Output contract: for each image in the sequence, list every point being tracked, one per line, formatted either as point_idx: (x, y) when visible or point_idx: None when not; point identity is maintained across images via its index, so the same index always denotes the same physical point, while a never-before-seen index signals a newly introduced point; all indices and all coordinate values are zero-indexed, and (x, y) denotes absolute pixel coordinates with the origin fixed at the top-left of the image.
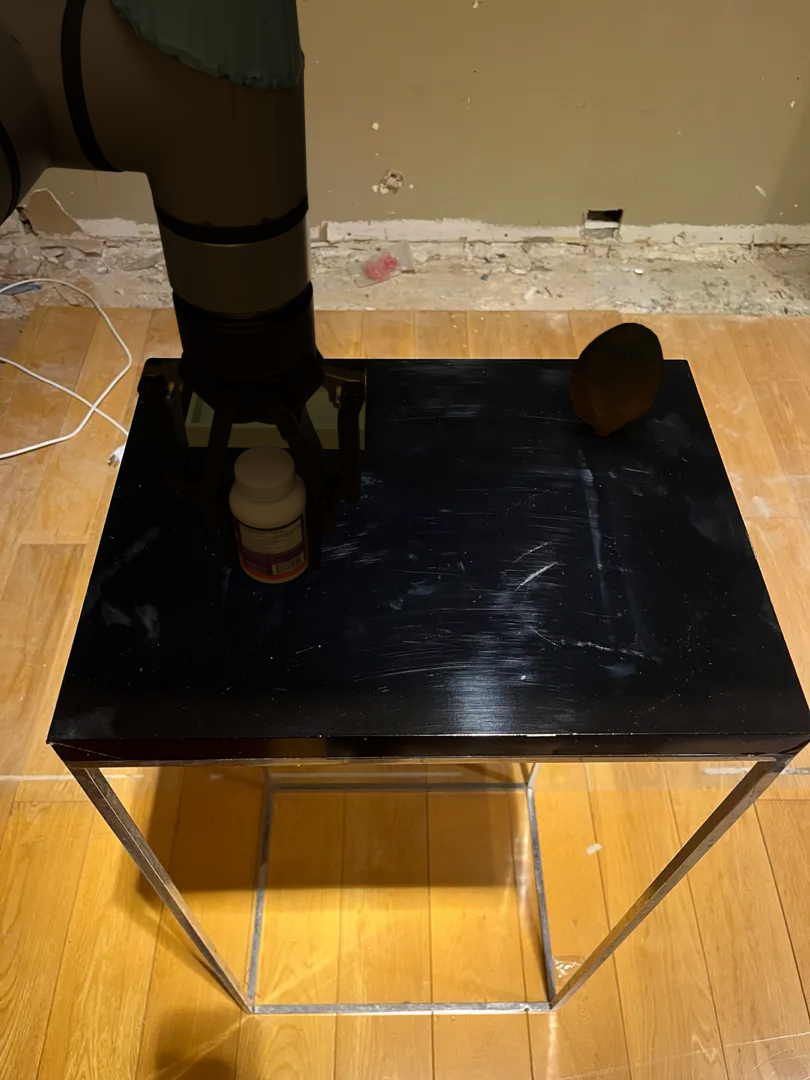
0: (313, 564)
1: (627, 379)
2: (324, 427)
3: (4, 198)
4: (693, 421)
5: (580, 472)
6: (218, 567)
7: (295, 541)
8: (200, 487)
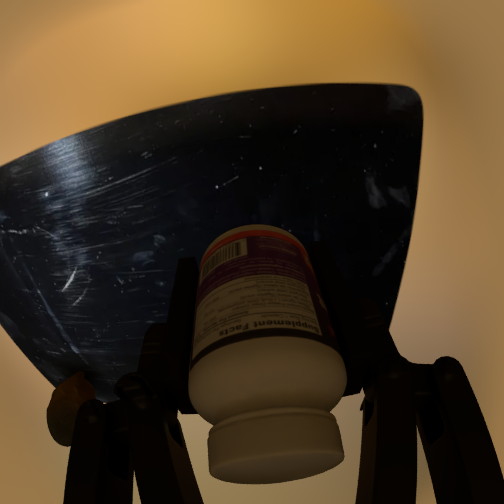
0: (187, 266)
1: (58, 413)
2: None
3: None
4: (46, 376)
5: (79, 351)
6: None
7: (203, 307)
8: (412, 401)
